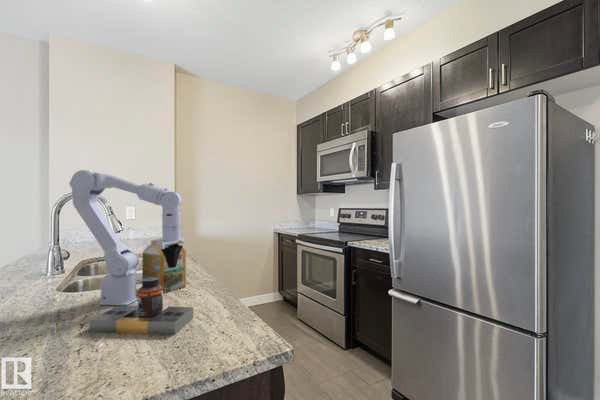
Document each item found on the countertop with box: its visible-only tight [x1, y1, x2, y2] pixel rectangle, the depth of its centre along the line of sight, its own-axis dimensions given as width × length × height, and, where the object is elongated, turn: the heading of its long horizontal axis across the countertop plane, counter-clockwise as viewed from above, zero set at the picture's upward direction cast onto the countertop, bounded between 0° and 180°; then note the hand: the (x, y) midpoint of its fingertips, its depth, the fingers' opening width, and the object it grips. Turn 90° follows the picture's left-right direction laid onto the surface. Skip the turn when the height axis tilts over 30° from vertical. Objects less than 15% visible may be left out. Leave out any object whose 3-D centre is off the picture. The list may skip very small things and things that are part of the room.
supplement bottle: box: [137, 277, 164, 318], centre depth 78 cm, size 6×6×11 cm
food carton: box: [141, 238, 187, 295], centre depth 106 cm, size 11×11×19 cm
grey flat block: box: [88, 305, 194, 335], centre depth 75 cm, size 22×10×3 cm, turn 86°
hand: (172, 267), depth 96 cm, fingers closed
